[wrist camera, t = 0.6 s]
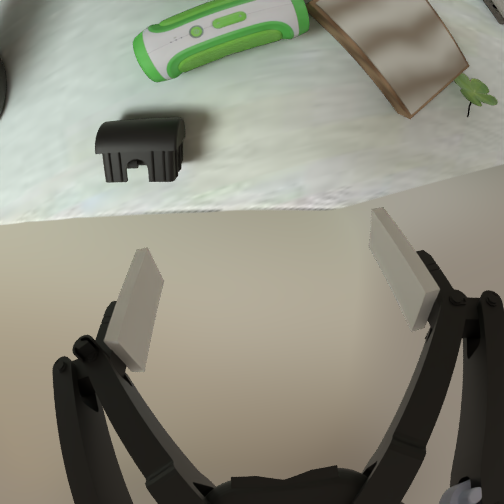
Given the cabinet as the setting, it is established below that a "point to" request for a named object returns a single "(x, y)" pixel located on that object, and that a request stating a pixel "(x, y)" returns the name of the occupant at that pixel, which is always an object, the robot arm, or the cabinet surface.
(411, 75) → the stand
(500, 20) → the electrical switch
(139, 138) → the end cap
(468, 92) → the seedling
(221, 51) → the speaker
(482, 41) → the cabinet surface
